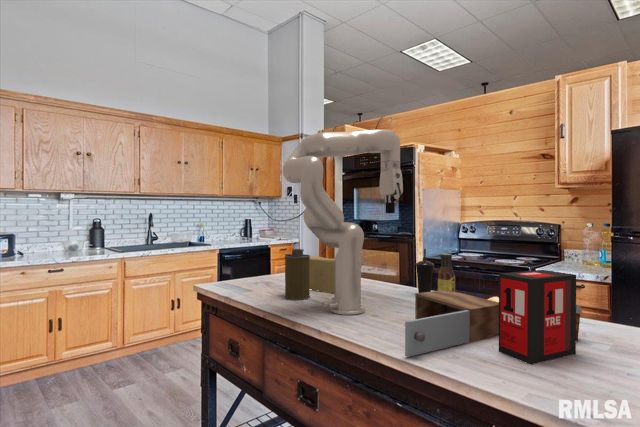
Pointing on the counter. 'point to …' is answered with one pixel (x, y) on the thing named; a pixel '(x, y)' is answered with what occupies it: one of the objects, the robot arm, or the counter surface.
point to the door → (436, 332)
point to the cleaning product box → (537, 315)
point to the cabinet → (447, 301)
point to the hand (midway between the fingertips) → (390, 213)
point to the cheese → (321, 274)
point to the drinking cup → (424, 275)
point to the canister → (297, 275)
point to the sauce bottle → (446, 274)
